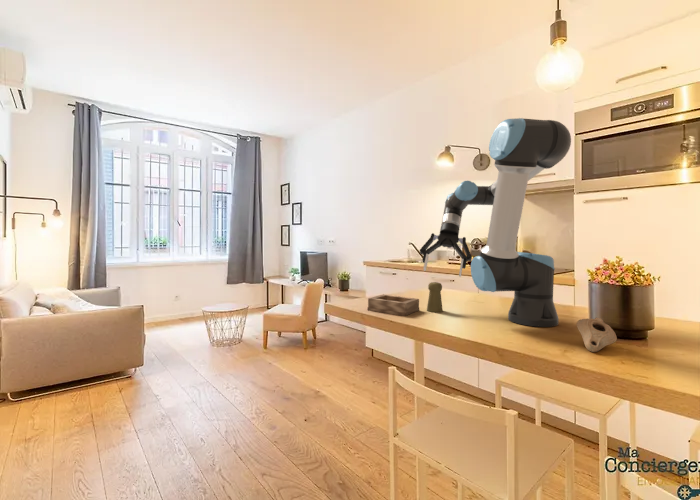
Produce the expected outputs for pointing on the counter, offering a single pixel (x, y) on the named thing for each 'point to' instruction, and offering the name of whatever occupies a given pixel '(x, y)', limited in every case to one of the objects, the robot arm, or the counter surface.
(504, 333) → the counter surface
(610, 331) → the pottery oil lamp
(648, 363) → the counter surface
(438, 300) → the cork
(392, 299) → the brown tray
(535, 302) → the robot arm
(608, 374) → the counter surface
